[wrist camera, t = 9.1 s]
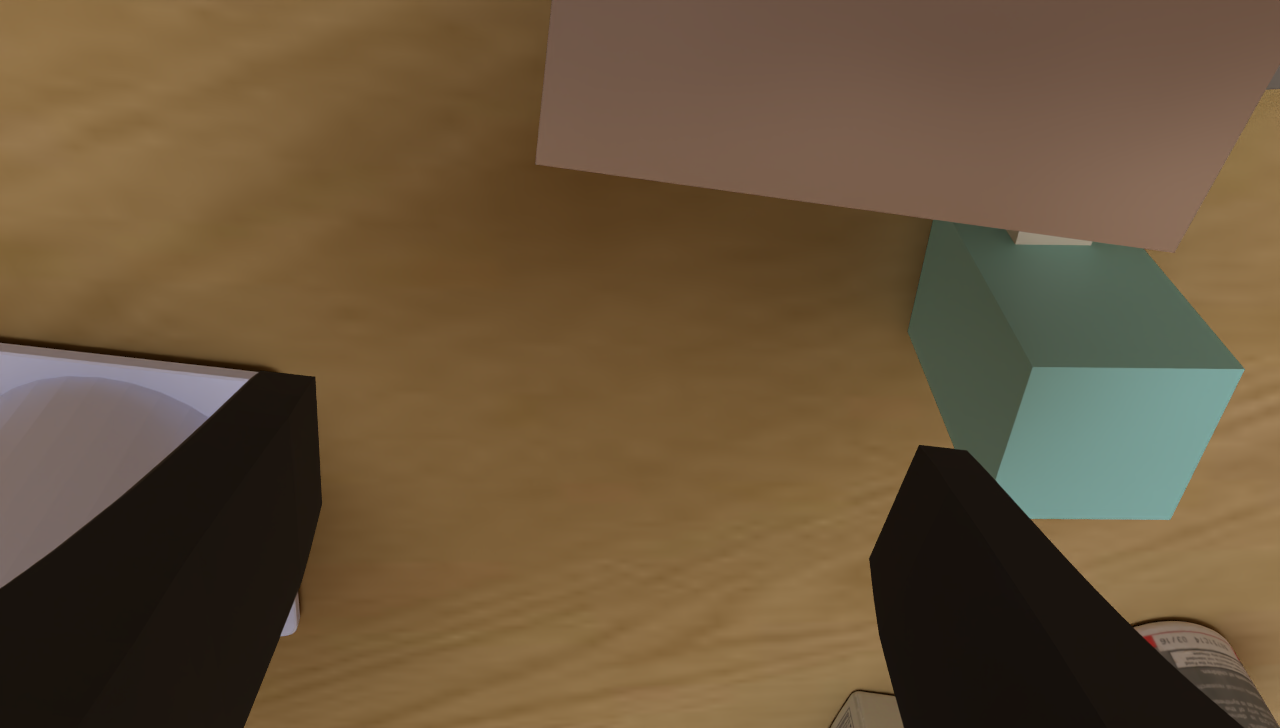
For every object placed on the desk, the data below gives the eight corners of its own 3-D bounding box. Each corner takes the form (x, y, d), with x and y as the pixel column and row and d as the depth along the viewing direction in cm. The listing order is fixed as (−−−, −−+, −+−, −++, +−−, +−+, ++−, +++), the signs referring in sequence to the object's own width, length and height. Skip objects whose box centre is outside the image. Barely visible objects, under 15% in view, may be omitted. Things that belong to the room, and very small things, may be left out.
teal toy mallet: (1055, 333, 23) (1170, 519, 18) (907, 331, 23) (983, 518, 18) (1366, -580, 14) (1774, -698, 9) (1116, -587, 13) (1388, -710, 9)
